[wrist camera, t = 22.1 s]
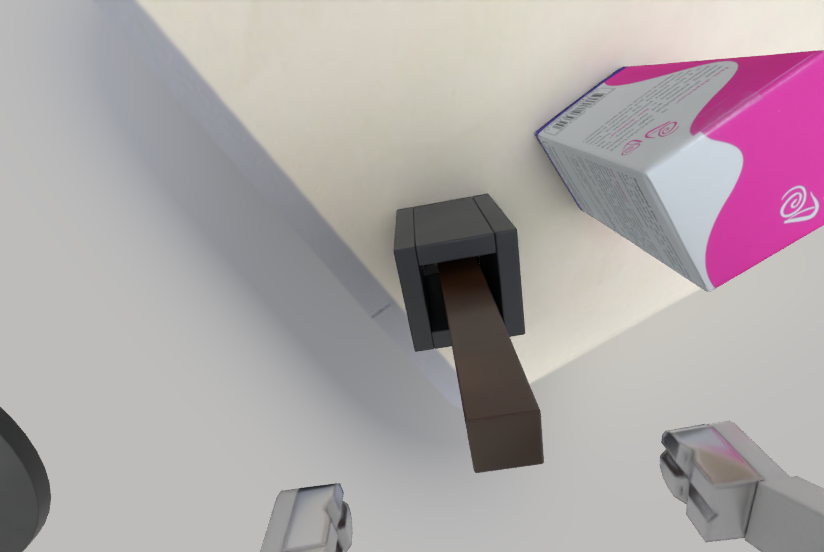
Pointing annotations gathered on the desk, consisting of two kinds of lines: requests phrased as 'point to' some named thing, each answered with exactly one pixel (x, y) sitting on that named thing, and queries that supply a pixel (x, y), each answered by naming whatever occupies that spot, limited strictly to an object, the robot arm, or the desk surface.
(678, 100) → the supplement box
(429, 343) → the holder
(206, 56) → the desk surface
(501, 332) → the stick
